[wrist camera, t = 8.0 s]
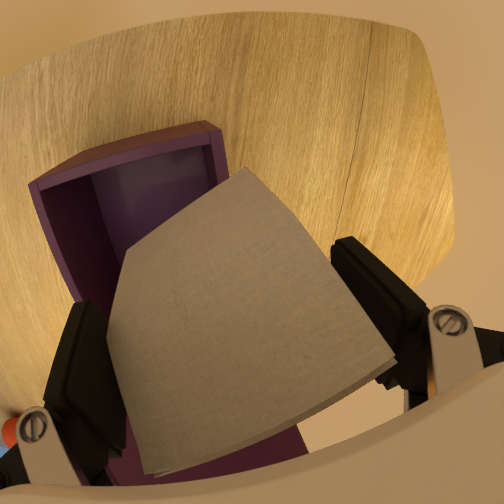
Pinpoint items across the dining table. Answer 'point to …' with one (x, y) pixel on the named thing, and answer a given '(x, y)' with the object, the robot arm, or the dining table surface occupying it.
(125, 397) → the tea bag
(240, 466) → the purple box lid
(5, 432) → the tomato
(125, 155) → the purple box
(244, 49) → the dining table surface
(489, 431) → the robot arm
